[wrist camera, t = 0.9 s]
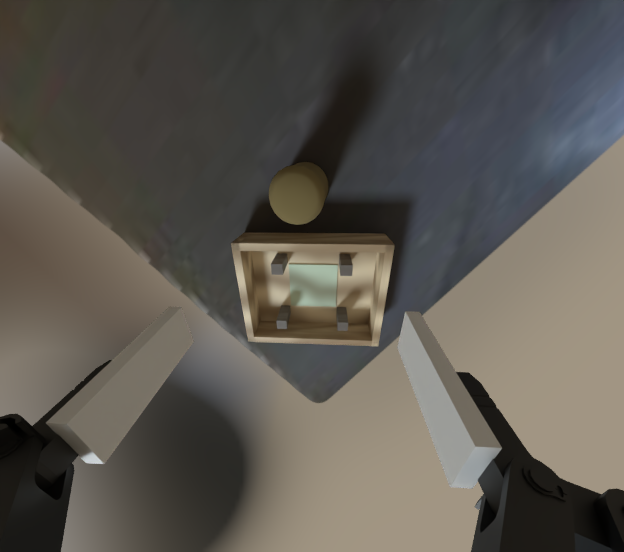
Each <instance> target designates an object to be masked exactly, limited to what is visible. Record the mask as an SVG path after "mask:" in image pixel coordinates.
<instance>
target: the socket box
mask: <svg viewBox="0 0 624 552" xmlns="http://www.w3.org/2000/svg"><path fill="white" fill-rule="evenodd" d="M231 246H232V252H233V257H234V263H235V269H236V274H237V280H238V286H239V291H240V297H241V303H242V308H243V314H244V320H245V325H246V331H247V337H248V342H273V343H301V344H330V345H359V346H378V344H379V338H380V332H381V326H382V319H383V313H384V307H385V301H386V295H387V289H388V283H389V277H390V271H391V265H392V259H393V253H394V247H395V245H394V243H393V242H392V241H391V240H390V239H389V238H388V237H387V236H386V234H374V233H243V234H242V235H241V236H239V237H238V238H237V239H236V240H234V241H233V242H232V243H231Z"/></svg>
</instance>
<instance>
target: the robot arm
mask: <svg viewBox="0 0 624 552" xmlns="http://www.w3.org/2000/svg"><path fill="white" fill-rule="evenodd" d="M193 342H194V340H193V337H192V335H191V332H190V329H189V326H188V323H187V321H186V318H185V315H184V312H183V309H182V307H169V308H168V309H166V310H165V311H164V312H163V313H162V314H161V315H160V316H159V317H158V318H157V319H156V320H155V321H154V322H153V323H151V325H149V326H148V327H147V328H146V329H145V330H144V331H143V332H142V333H141V334H140V335H139V336H138V337H137V338H136V339H134V340H133V341H132V342H131V343H130V344H129V345H128V346H127V347H126V348H125V349H124V350H123V351H122V352H121V353H120V354H118V355H117V356H116V357H115V358H114V359H113V360H109V361H108V362H106V363H104V364H103V365H101V366H99V367H98V368H96V369H95V370H94V371H93V372H92V373H91V374H90V375H89V376H87V377H86V378H85V379H84V381H82V382H81V383H80V384H78V385H77V386H76V387H75V389H74V390H72V391H71V392H70V393H69V394H67V395H66V396H65V397H64V398H63V399H62V400H61V401H60V402H59V403H58V404H56V405H55V406H54V407H53V408H52V409H51V410H50V411H49V412H48V413H47V414H45V415H44V416H43V417H42V418H41V419H40V420H39V421H38V422H37V423H35V424H34V425H33V426H31V425H30V424H29V423H28V422H27V421H26V420H25V419H24V418H22V417H21V416H20V415H18V414H9V415H5V416H2V417H0V552H61V547H62V541H63V535H64V529H65V523H66V517H67V510H68V505H69V498H70V493H71V487H72V481H73V474H74V465H73V464H72V462H73V461H74V460H75V459H76V457H77V456H78V455H79V456H80V457H81V458H82V459H83V460H84V461H85V462H86V463H94V464H95V463H96V464H105V463H106V461H107V460H108V458H109V457H110V456H111V454H112V453H113V452H114V450H115V449H116V447H117V446H118V445H119V443H120V442H121V440H122V439H123V438H124V436H125V435H126V434H127V432H128V431H129V430H130V428H131V427H132V426H133V424H134V423H135V421H136V420H137V418H138V417H139V416H140V415H141V413H142V412H143V410H144V409H145V407H146V406H147V405H148V404H149V402H150V401H151V399H152V398H153V397H154V395H155V394H156V392H157V391H158V390H159V388H160V387H161V386H162V384H163V383H164V381H165V380H166V379H167V377H168V376H169V375H170V373H171V372H172V370H173V369H174V368H175V367H176V365H177V364H178V362H179V361H180V360H181V358H182V357H183V355H184V354H185V353H186V351H187V350H188V349H189V347H190V346H191V344H192V343H193ZM398 350H399V353H400V356H401V358H402V361H403V363H404V366H405V369H406V371H407V374H408V377H409V379H410V382H411V384H412V387H413V390H414V393H415V395H416V398H417V400H418V403H419V406H420V409H421V411H422V414H423V417H424V419H425V422H426V424H427V427H428V430H429V432H430V435H431V438H432V440H433V443H434V446H435V448H436V451H437V454H438V456H439V459H440V462H441V464H442V467H443V470H444V472H445V475H446V477H447V480H448V483H449V485H450V487H458V488H473V487H474V485H475V484H476V483H477V481H478V482H479V484H480V486H481V488H482V490H483V492H484V494H483V496H482V497H481V498H480V499H479V500H478V502H477V504H476V506H475V508H477V509H480V510H479V515H478V520H477V525H476V530H475V535H474V540H473V545H472V550H471V552H624V491H623V490H619V489H609V490H607V491H606V492H605V493H603V494H599V493H596V492H594V491H591V490H588V489H586V488H583V487H581V486H578V485H575V484H573V483H570V482H567V481H565V480H563V479H561V478H559V477H558V476H557V475H556V474H555V473H554V472H553V471H552V470H551V469H550V468H549V467H547V466H546V465H544V464H543V463H542V462H540V461H538V460H536V459H534V458H533V457H532V456H531V455H530V454H529V452H528V451H527V450H526V448H525V447H524V446H523V444H522V443H521V441H520V440H519V438H518V437H517V435H516V434H515V432H514V431H513V429H512V428H511V427H510V425H509V424H508V422H507V421H506V419H505V418H504V417H503V415H502V413H501V412H500V411H499V409H497V408H496V405H495V403H494V402H493V400H492V399H491V398H490V397H489V395H488V393H487V392H486V390H485V389H484V388H483V386H482V384H481V383H480V382H479V381H478V380H476V379H475V378H474V377H473V376H472V375H471V374H470V373H465V372H455V370H454V368H453V366H452V365H451V363H450V362H449V360H448V358H447V357H446V355H445V353H444V352H443V350H442V349H441V347H440V345H439V344H438V342H437V340H436V339H435V337H434V335H433V334H432V332H431V330H430V329H429V327H428V325H427V324H426V322H425V320H424V319H423V317H422V315H421V314H420V312H405V316H404V320H403V325H402V329H401V334H400V339H399V343H398Z"/></svg>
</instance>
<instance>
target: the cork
mask: <svg viewBox="0 0 624 552" xmlns="http://www.w3.org/2000/svg"><path fill="white" fill-rule="evenodd" d="M328 189H329V186H328V179H327V177H326V175H325V173H324V172H323V170H322V169H321V168H320V167H319V166H317V165H315V164H313V163H310V162H301V163H297V164H295V165H292V166H287V167H285V168H283V169H282V170H280V171H278V173H277V174H276V175H275V176H274V178H273V179H272V182H271V184H270V187H269V200H270V204H271V207H272V209H273V210H274V212H275V214H276V215H277V216H278V217H279V218H280V219H281V220H283V221H285V222H287V223H289V224H295V225H300V224H306V223H308V222H310V221H312V220H314V219H315V218H316V217H317V216H318V215H319V214H320V212H321V210H322V208H323V206H324V201H325V199H326V197H327V194H328Z"/></svg>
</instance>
